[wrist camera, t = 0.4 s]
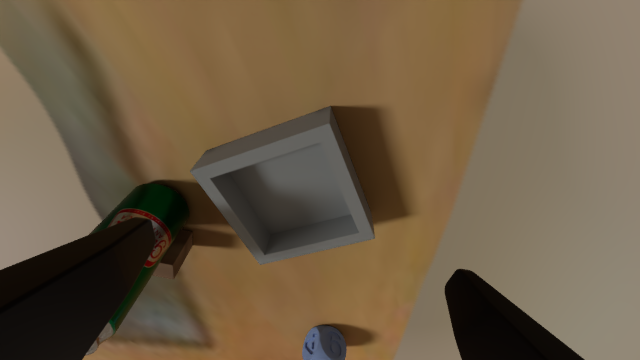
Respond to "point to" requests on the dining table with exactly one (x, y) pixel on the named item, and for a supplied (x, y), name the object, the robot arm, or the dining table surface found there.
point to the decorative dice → (324, 344)
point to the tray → (288, 188)
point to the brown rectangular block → (175, 256)
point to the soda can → (167, 223)
